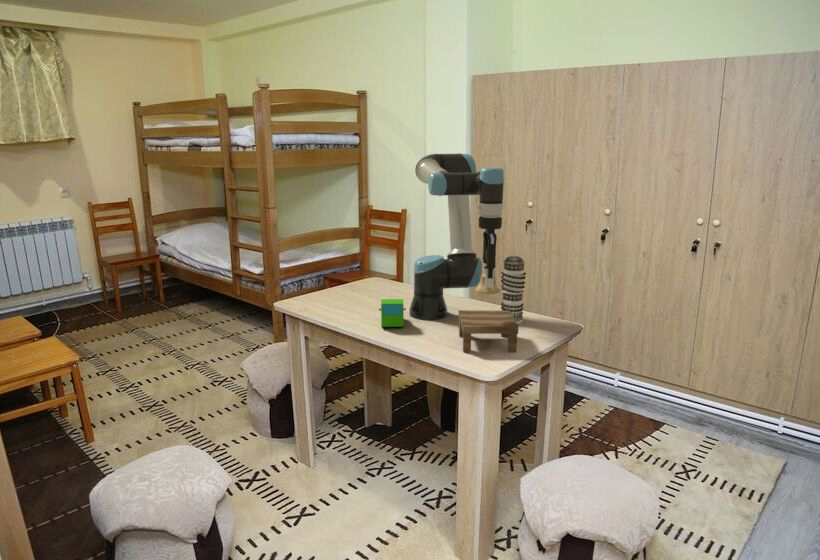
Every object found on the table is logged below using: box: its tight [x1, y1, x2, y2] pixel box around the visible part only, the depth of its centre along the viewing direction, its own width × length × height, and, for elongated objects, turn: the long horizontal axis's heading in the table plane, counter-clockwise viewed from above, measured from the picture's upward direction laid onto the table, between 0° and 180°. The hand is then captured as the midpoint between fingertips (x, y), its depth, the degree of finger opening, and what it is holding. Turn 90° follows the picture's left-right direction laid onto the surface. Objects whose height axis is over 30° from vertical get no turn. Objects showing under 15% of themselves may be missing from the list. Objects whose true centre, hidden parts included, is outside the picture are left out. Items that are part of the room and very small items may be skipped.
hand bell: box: [475, 257, 501, 295], centre depth 188 cm, size 8×8×16 cm
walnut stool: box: [458, 309, 519, 353], centre depth 194 cm, size 18×18×9 cm
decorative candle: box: [500, 255, 527, 325], centre depth 216 cm, size 9×9×25 cm
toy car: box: [378, 298, 407, 329], centre depth 214 cm, size 10×13×10 cm
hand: (488, 284), depth 190 cm, fingers closed on hand bell, 6 cm apart
